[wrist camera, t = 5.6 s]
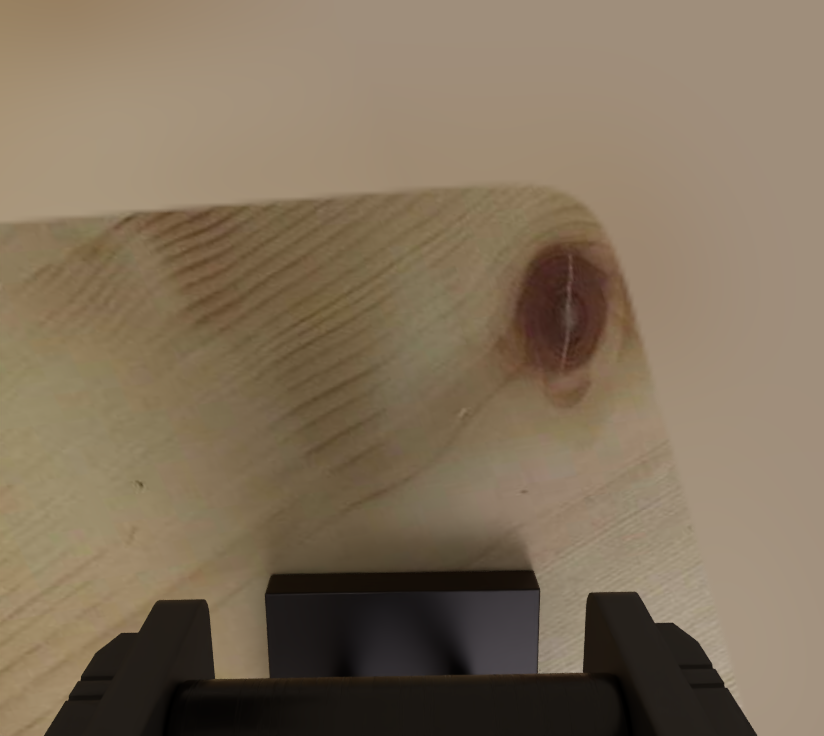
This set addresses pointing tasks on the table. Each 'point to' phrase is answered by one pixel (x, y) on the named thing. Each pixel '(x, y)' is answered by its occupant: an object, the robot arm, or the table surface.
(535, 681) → the lever
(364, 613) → the bracket
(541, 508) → the table surface
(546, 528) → the table surface
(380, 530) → the table surface
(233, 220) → the table surface
